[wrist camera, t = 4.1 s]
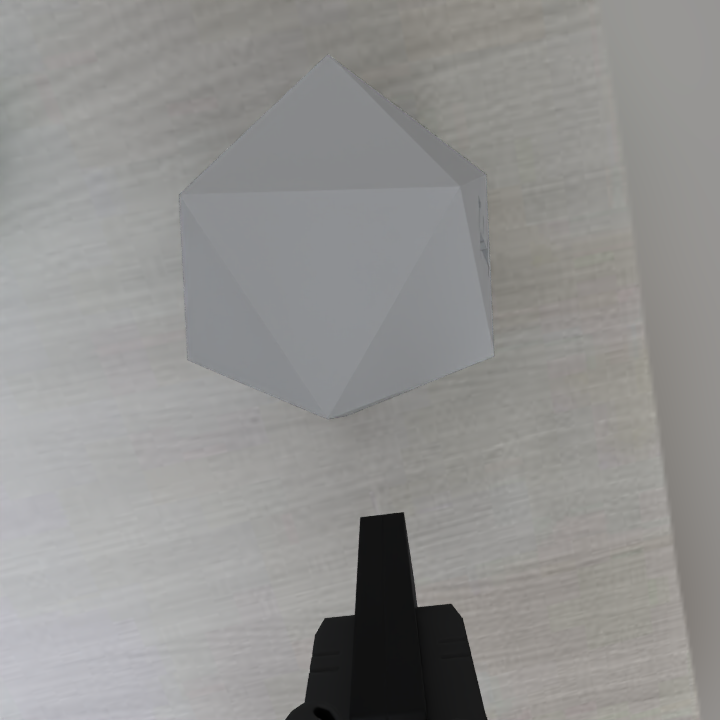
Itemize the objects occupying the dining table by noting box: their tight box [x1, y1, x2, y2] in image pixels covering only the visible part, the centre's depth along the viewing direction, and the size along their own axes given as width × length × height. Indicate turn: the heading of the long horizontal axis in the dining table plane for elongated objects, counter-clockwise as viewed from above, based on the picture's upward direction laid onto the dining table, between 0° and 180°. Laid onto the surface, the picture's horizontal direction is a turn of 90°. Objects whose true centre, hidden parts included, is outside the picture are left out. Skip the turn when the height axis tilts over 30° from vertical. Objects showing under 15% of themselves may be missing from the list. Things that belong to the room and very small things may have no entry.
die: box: [179, 54, 494, 419], centre depth 12 cm, size 8×9×10 cm
